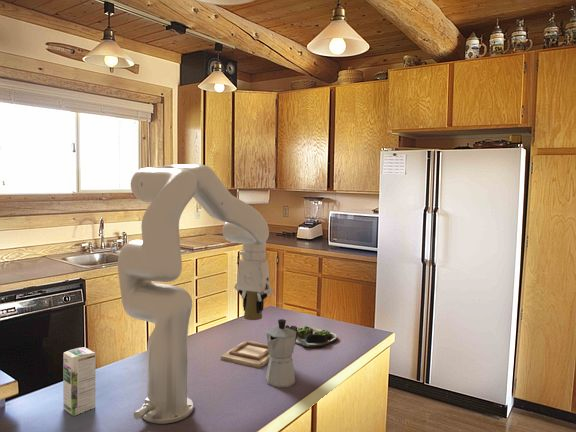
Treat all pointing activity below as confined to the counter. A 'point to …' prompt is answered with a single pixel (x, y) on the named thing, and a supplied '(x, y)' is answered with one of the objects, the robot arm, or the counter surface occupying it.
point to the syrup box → (79, 380)
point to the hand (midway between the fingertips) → (253, 310)
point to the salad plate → (314, 337)
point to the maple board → (248, 354)
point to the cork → (252, 307)
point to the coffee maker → (281, 355)
